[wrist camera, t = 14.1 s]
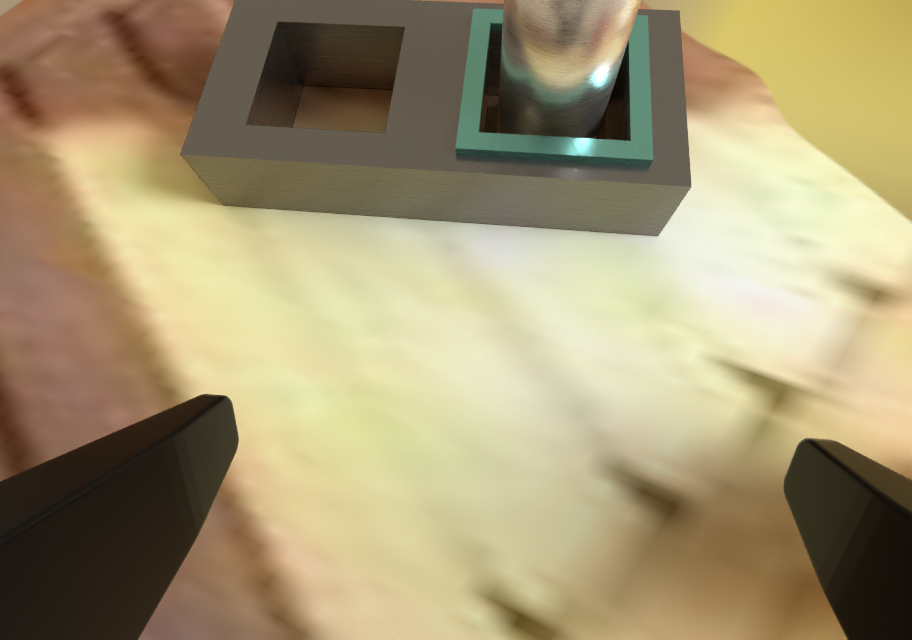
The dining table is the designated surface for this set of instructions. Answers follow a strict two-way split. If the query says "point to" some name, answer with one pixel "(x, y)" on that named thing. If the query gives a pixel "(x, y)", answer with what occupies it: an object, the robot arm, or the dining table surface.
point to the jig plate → (432, 121)
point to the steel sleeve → (560, 64)
